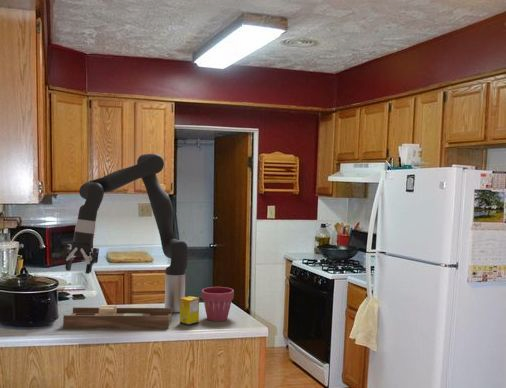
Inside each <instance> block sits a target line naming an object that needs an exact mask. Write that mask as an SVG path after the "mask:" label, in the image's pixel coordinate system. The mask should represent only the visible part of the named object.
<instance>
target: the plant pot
mask: <svg viewBox="0 0 506 388" xmlns="http://www.w3.org/2000/svg"><path fill="white" fill-rule="evenodd" d="M234 296H235V291H234V289H233V288H230V287H225V286H224V287H223V286H210V287H205V288H202V290H201V300H203V304H204V309H205V313H206V318H207V320H209V321H211V322H222V321H227V319H228V316H229V313H230V309H231V306H232V300H234V298H235V297H234Z"/></svg>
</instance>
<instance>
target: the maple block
mask: <svg viewBox="0 0 506 388" xmlns="http://www.w3.org/2000/svg"><path fill="white" fill-rule="evenodd" d="M98 308H99V315H116V308H118V307H117V304H116V305H115V304H104V305H103V304H102V305H100V307H98Z"/></svg>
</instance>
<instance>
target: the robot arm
mask: <svg viewBox="0 0 506 388" xmlns="http://www.w3.org/2000/svg"><path fill="white" fill-rule="evenodd" d="M164 166H165V161H164V158H163V157H162V156H161V154H160V155H159V154H157V153H145V154H140V155H139V157H138V158H137V160H136V164H134V165H131V166H127V167H125V168H124V167H123V168H121V169H118V170H115V171H113V172H111V173H108V174H106V175H104V176H102V177H100V178H95V179H92V180H89V181H86V182H84V183H83V184H82V185H81V186H80V187H79V196H80V197H81V198H82V199H84V200H85V201H84V204H82V205H81V206H80V207H79V209H78V214H77V220H76V223H75V228H74V234H73V239H72V244H71V243H65V244H64V249H63V253H62V259H64V260H65V267H64V268H65V270H66V271H67V272H70V271H71V270H72V264H73V260H74V258H76V257H80V258H84V260H85V261H86V267H85V274H87V275H89V274H90V273H91V272H92V268H93V265H94V264H97V263H98V261H99V254H100V251H99V250H100V249H99V248H98V247H94V248H93V247H92V246H93V243H94V242H93V241H94V236H95V231H96V223H97V216H98V211H99V209H100V207H101V204H102V201H103V199H104V194H105V193H111V192H114V191H116V190H117V189H120V188H122V187H124V186H126V185H128V184H130V183H132V182H135V181H137V180H139V179H141V180H142V182H143V185H144V188H145V190H146V193H147V197H148V200H149V205H150V207H151V210H152V214H153V217H154V219H155V223H156V226H157V230H158V234H159V238H160V243H161V249H162V252H163V254H164V256H165V257H167V258H168V259H170V265H169V266H167V267H166V268H165V276H164V281H165V283H164V308H172V313H180V298H183V297H186V270H187V267H188V262H189V261H188V259H189V247H188V243H186V242H185V241H184V240H179V239H177V238H176V235H175V233H174V229H173V228H174V227H173V223H174V222H173V221H174V218H175V217H174V215H175V214H174V213H175V211H174V208H173V204H172V201H171V198H170V196H169V194H167V192H166V190H165V189H164V188H163V187H162V185H161V184H160V182H159V180H158V177H157V174H160V173H161V172H162V171H163V169H164ZM71 250H72V251H71ZM70 251H71V252H70ZM91 253H92V254H91Z"/></svg>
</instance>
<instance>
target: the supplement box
mask: <svg viewBox="0 0 506 388" xmlns="http://www.w3.org/2000/svg"><path fill="white" fill-rule="evenodd" d="M199 316H200V297H196V296H192V295H189V296H185V297H183V298H180V312H179V324H181V325H184V326H188V327H190V326H193V325H196V324H199V323H200V321H199V319H200V317H199Z"/></svg>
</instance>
